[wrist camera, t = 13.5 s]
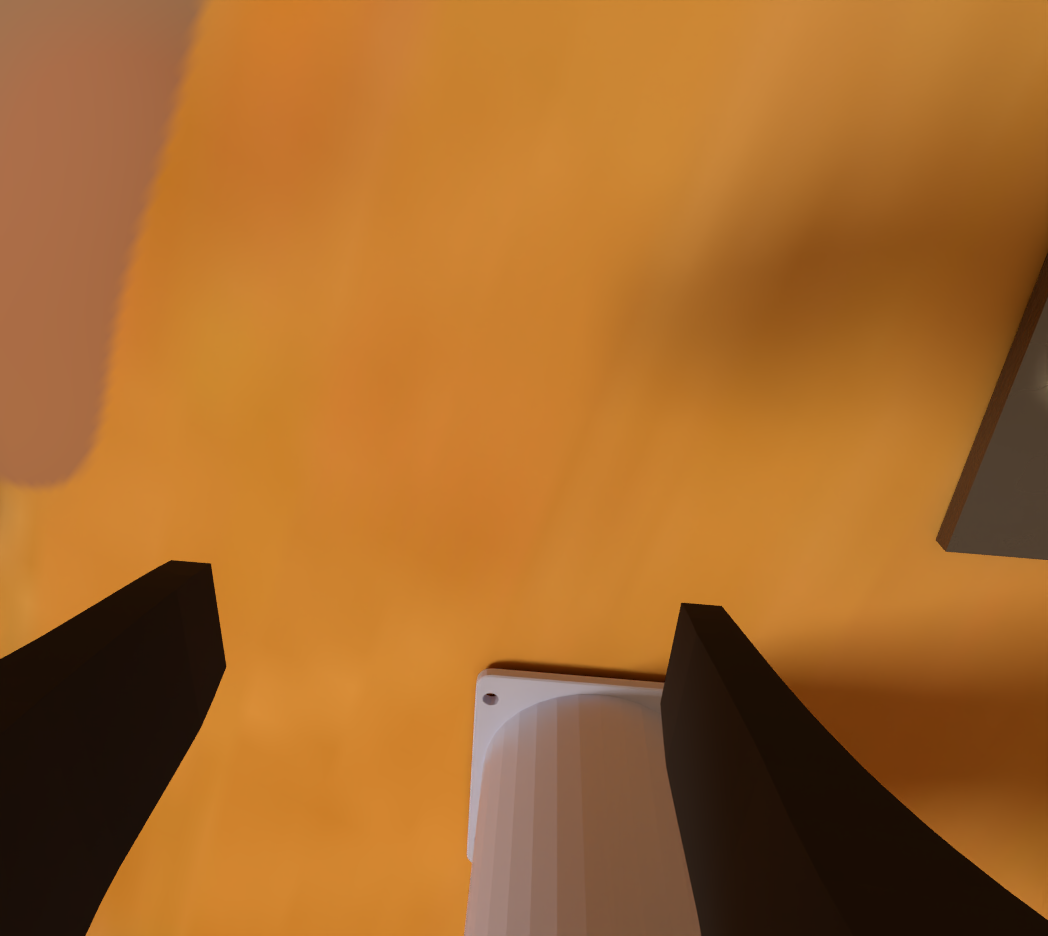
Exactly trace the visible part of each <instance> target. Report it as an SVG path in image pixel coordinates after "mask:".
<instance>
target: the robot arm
mask: <svg viewBox="0 0 1048 936" xmlns="http://www.w3.org/2000/svg"><path fill="white" fill-rule="evenodd" d="M225 669H226V661H225V655H224V648H223V641H222V635H221V628H220V622H219V615H218V608H217V602H216V595H215V589H214V582H213V575H212V569H211V564H210V563H197V562H185V561H173V560H171V561H169V562H167V563H165V564H163V565H161V566H159V567H158V568H156V569H154V570H152V571H150V572H149V573H147V574H145V575H144V576H142V577H140V578H138V579H137V580H135V581H133V582H132V583H130V584H128V585H127V586H125V587H123V588H122V589H120V590H118V591H117V592H115V593H113V594H112V595H110V596H108V597H107V598H105V599H103V600H102V601H100V602H99V603H97V604H95V605H94V606H92V607H90V608H88V609H87V610H85V611H83V612H82V613H80V614H78V615H77V616H75V617H73V618H72V619H70V620H68V621H67V622H65V623H63V624H62V625H60V626H58V627H57V628H55V629H53V630H52V631H50V632H48V633H46V634H45V635H43V636H41V637H40V638H38V639H36V640H34V641H33V642H31V643H29V644H27V645H25V646H23V647H22V648H20V649H18V650H16V651H14V652H13V653H11V654H9V655H7V656H5V657H3V658H2V659H0V936H85V935H86V933H87V931H88V929H89V927H90V925H91V922H92V920H93V918H94V916H95V914H96V912H97V910H98V908H99V905H100V903H101V901H102V899H103V897H104V895H105V894H106V892H107V890H108V888H109V886H110V884H111V882H112V881H113V879H114V877H115V875H116V873H117V871H118V869H119V867H120V866H121V864H122V862H123V861H124V859H125V857H126V855H127V854H128V852H129V850H130V849H131V847H132V845H133V844H134V842H135V840H136V838H137V837H138V835H139V833H140V832H141V830H142V828H143V826H144V825H145V823H146V821H147V820H148V818H149V816H150V815H151V813H152V811H153V809H154V808H155V806H156V804H157V803H158V801H159V799H160V798H161V796H162V794H163V792H164V791H165V789H166V787H167V786H168V784H169V782H170V780H171V779H172V777H173V775H174V774H175V772H176V770H177V768H178V767H179V765H180V763H181V761H182V760H183V758H184V756H185V755H186V753H187V751H188V749H189V748H190V746H191V744H192V742H193V741H194V739H195V737H196V735H197V733H198V732H199V730H200V728H201V726H202V724H203V721H204V719H205V717H206V715H207V712H208V710H209V708H210V705H211V703H212V701H213V699H214V696H215V694H216V691H217V689H218V686H219V684H220V681H221V679H222V676H223V674H224V671H225ZM487 693H493V694H495V695H496V696H488V695H486V694H487ZM467 858H468V859H469V860H470V861H471V862H472V869H471V878H470V887H469V896H468V905H467V914H466V923H465V932H464V936H1048V920H1047V919H1045V918H1044V917H1043V916H1041V915H1040V914H1039V913H1037V912H1036V911H1035V910H1033V909H1032V908H1031V907H1029V906H1028V905H1027V904H1025V903H1024V902H1022V901H1021V900H1020V899H1018V898H1017V897H1016V896H1014V895H1013V894H1012V893H1010V892H1009V891H1008V890H1006V889H1005V888H1004V887H1002V886H1001V885H1000V884H999V883H997V882H996V881H995V880H994V879H992V878H991V877H990V876H989V875H987V874H986V873H985V872H983V871H982V870H981V869H980V868H978V867H977V866H976V865H975V864H973V863H972V862H971V861H970V860H968V859H967V858H966V857H965V856H963V855H962V854H961V853H959V852H958V851H957V850H956V849H954V848H953V847H952V846H951V845H950V844H948V843H947V842H946V841H945V840H944V839H942V838H941V837H940V836H939V835H938V834H936V833H935V832H934V831H933V830H932V829H930V828H929V827H928V826H927V825H926V824H925V823H923V822H922V821H921V820H920V819H919V818H918V817H917V816H916V815H915V814H913V813H912V812H911V811H910V810H909V809H908V808H907V807H906V806H905V805H903V804H902V803H901V802H900V801H899V800H898V799H897V798H896V797H894V796H893V795H892V794H891V793H890V792H889V791H888V790H887V789H886V788H884V787H883V786H882V785H881V784H880V783H879V782H878V781H877V780H876V779H875V778H874V777H873V776H872V775H871V774H870V773H869V772H868V771H867V770H865V769H864V768H863V767H862V766H861V765H860V764H859V763H858V762H857V761H856V760H855V759H854V758H853V757H852V756H851V755H850V753H849V752H848V751H847V750H846V749H845V748H844V747H843V746H842V745H841V744H840V743H839V742H838V741H837V740H836V739H835V738H834V737H833V736H832V735H831V734H830V733H829V732H828V731H827V730H826V729H825V728H824V727H823V726H822V724H821V723H820V722H819V721H818V720H817V719H816V718H815V717H814V716H813V715H812V714H811V713H810V711H809V710H808V709H807V708H806V707H805V706H804V705H803V704H802V702H801V701H800V700H799V699H798V698H797V697H796V696H795V694H794V693H793V692H792V691H791V690H790V689H789V688H788V686H787V685H786V684H785V683H784V682H783V681H782V679H781V678H780V677H779V676H778V675H777V673H776V672H775V671H774V670H773V669H772V667H771V666H770V665H769V664H768V663H767V661H766V660H765V659H764V658H763V656H762V655H761V654H760V653H759V652H758V650H757V649H756V648H755V647H754V645H753V644H752V643H751V642H750V640H749V639H748V638H747V637H746V635H745V634H744V633H743V632H742V631H741V629H740V628H739V627H738V626H737V624H736V623H735V622H734V621H733V619H732V618H731V617H730V616H729V614H728V613H727V612H726V611H725V610H724V608H723V607H722V606H714V605H702V604H690V603H681V607H680V612H679V617H678V622H677V626H676V631H675V636H674V641H673V645H672V650H671V655H670V659H669V664H668V669H667V674H666V678H665V683H662V682H650V681H638V680H626V679H614V678H602V677H590V676H578V675H566V674H554V673H542V672H530V671H518V670H506V669H495V668H491V669H485V670H483V671H481V672H480V673H479V674H478V677H477V683H476V698H475V716H474V734H473V752H472V770H471V789H470V807H469V825H468V843H467Z"/></svg>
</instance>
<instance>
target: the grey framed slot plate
mask: <svg viewBox="0 0 1048 936" xmlns="http://www.w3.org/2000/svg"><path fill="white" fill-rule="evenodd" d="M936 541H937V542H938V543H939V544H940V545H941V547H942V548H943V549H944V550H945V551H946V552H958V553H970V554H982V555H994V556H1006V557H1018V558H1030V559H1042V560H1048V254H1047V257H1046V259H1045V262H1044V265H1043V267H1042V270H1041V272H1040V275H1039V277H1038V280H1037V282H1036V285H1035V288H1034V290H1033V293H1032V295H1031V298H1030V300H1029V303H1028V305H1027V308H1026V311H1025V313H1024V316H1023V318H1022V321H1021V323H1020V326H1019V328H1018V331H1017V334H1016V336H1015V339H1014V341H1013V344H1012V346H1011V349H1010V351H1009V354H1008V357H1007V359H1006V362H1005V364H1004V367H1003V369H1002V372H1001V374H1000V377H999V380H998V382H997V385H996V387H995V390H994V392H993V395H992V397H991V400H990V403H989V405H988V408H987V410H986V413H985V415H984V418H983V420H982V423H981V426H980V428H979V431H978V433H977V436H976V438H975V441H974V443H973V446H972V449H971V451H970V454H969V456H968V459H967V461H966V464H965V466H964V469H963V472H962V474H961V477H960V479H959V482H958V484H957V487H956V489H955V492H954V495H953V497H952V500H951V502H950V505H949V507H948V510H947V513H946V515H945V518H944V520H943V523H942V525H941V528H940V530H939V533H938V536H937V538H936Z"/></svg>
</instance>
